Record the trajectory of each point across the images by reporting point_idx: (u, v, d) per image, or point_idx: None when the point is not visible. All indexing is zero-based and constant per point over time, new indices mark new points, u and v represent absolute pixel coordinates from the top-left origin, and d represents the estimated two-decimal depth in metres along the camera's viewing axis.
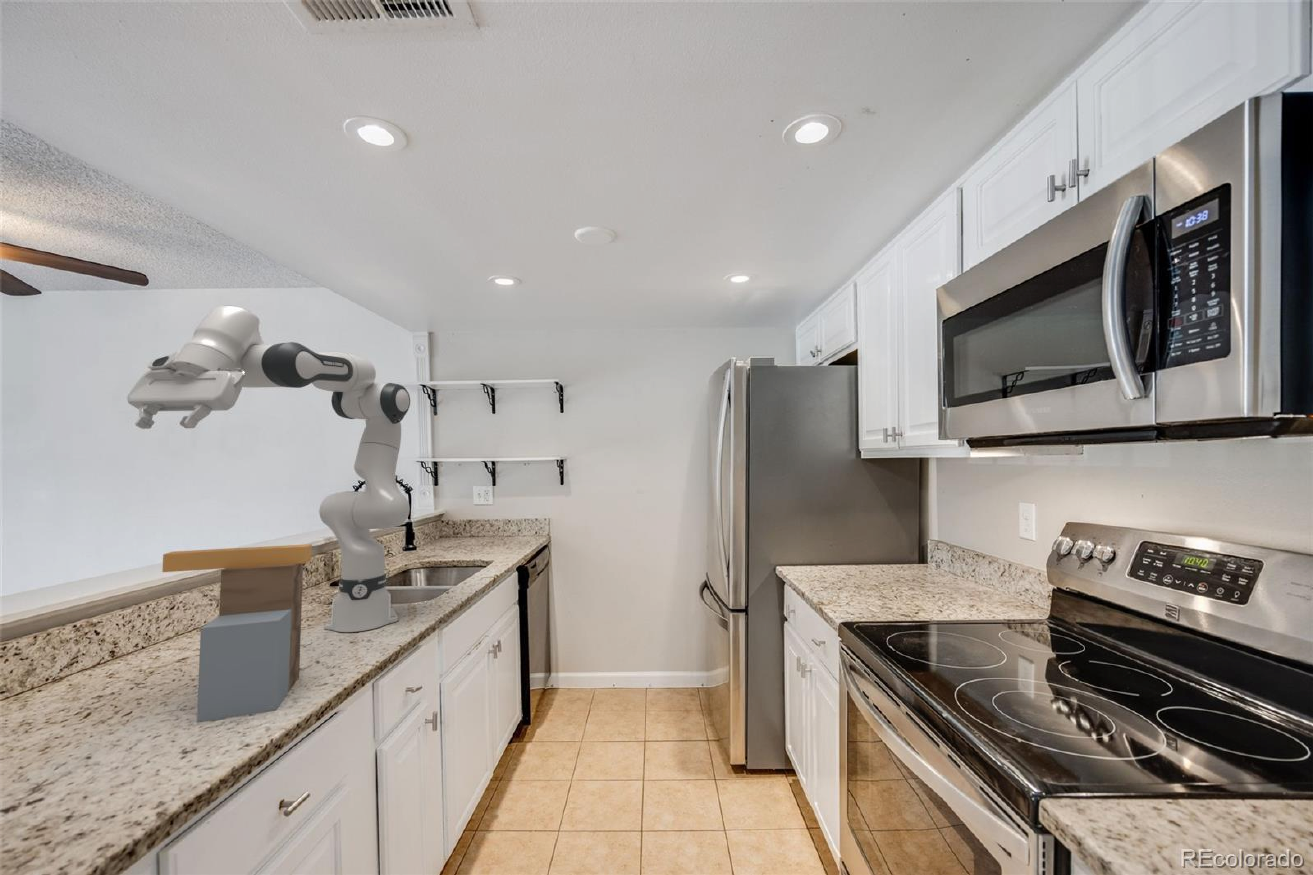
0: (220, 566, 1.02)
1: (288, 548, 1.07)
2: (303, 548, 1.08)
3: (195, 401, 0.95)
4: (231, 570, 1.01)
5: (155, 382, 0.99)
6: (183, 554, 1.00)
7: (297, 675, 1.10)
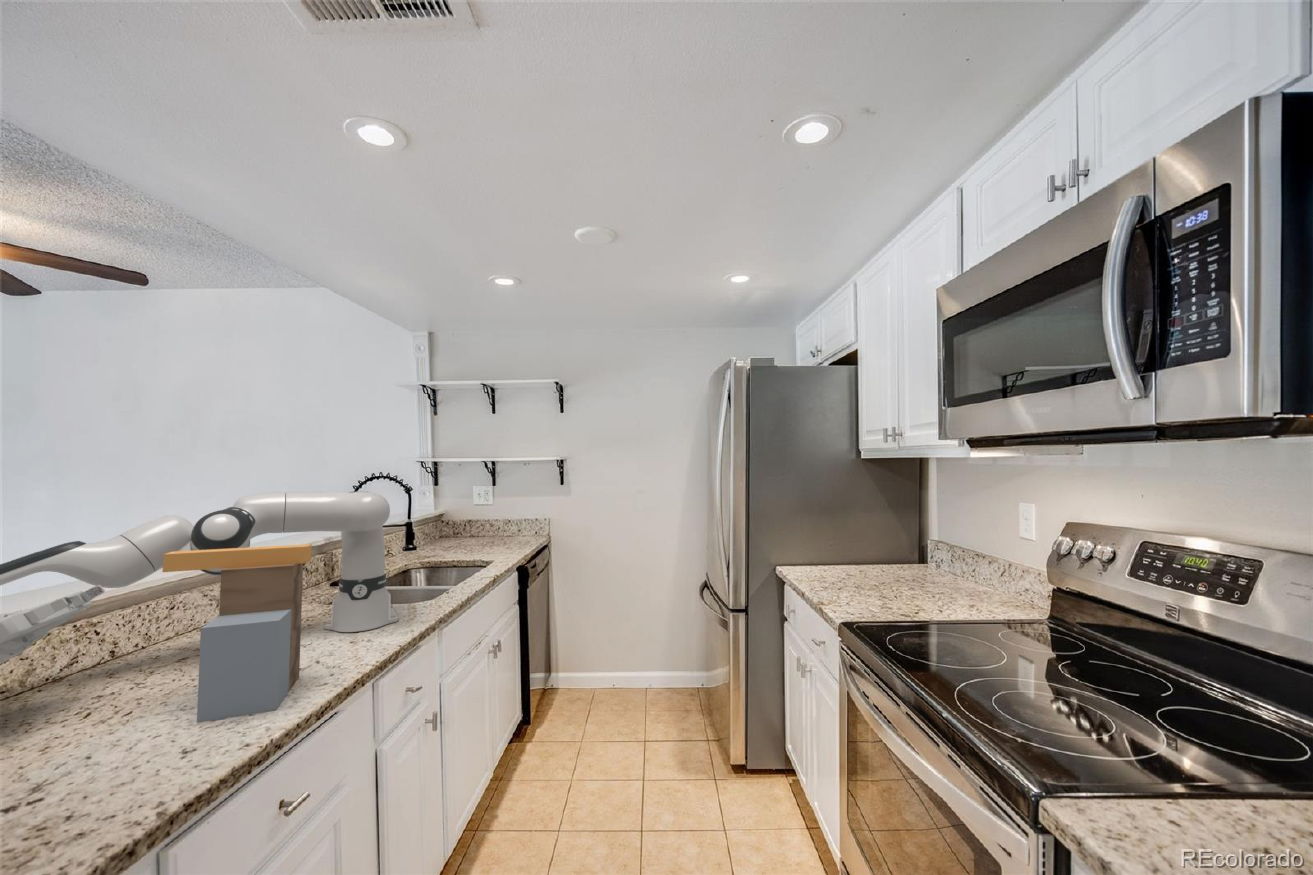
0: (220, 566, 1.02)
1: (288, 548, 1.07)
2: (303, 548, 1.08)
3: (38, 624, 0.89)
4: (231, 570, 1.01)
5: (52, 622, 0.98)
6: (183, 554, 1.00)
7: (297, 675, 1.10)
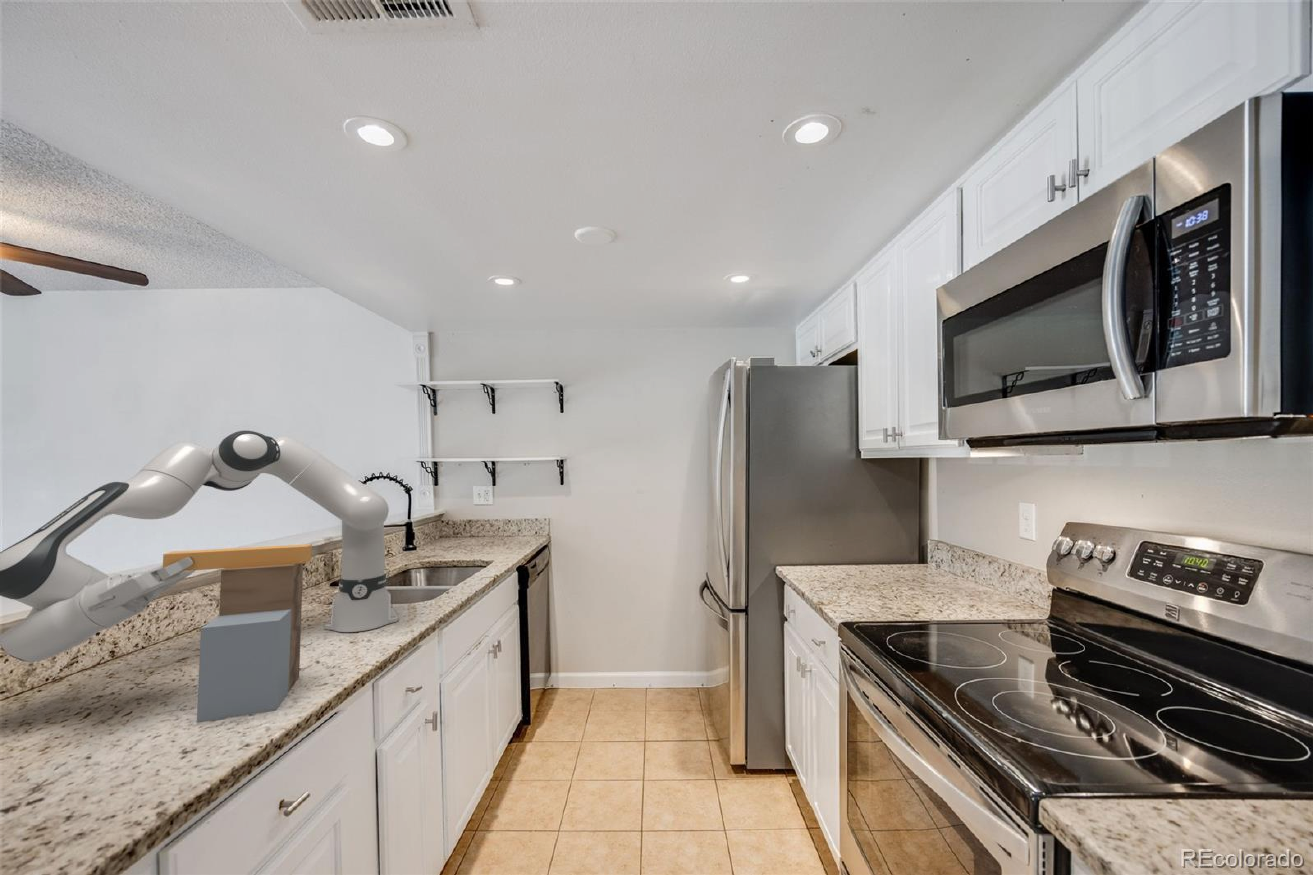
0: (220, 566, 1.02)
1: (288, 548, 1.07)
2: (303, 548, 1.08)
3: (161, 583, 0.96)
4: (231, 570, 1.01)
5: (165, 584, 1.05)
6: (183, 554, 1.00)
7: (297, 675, 1.10)
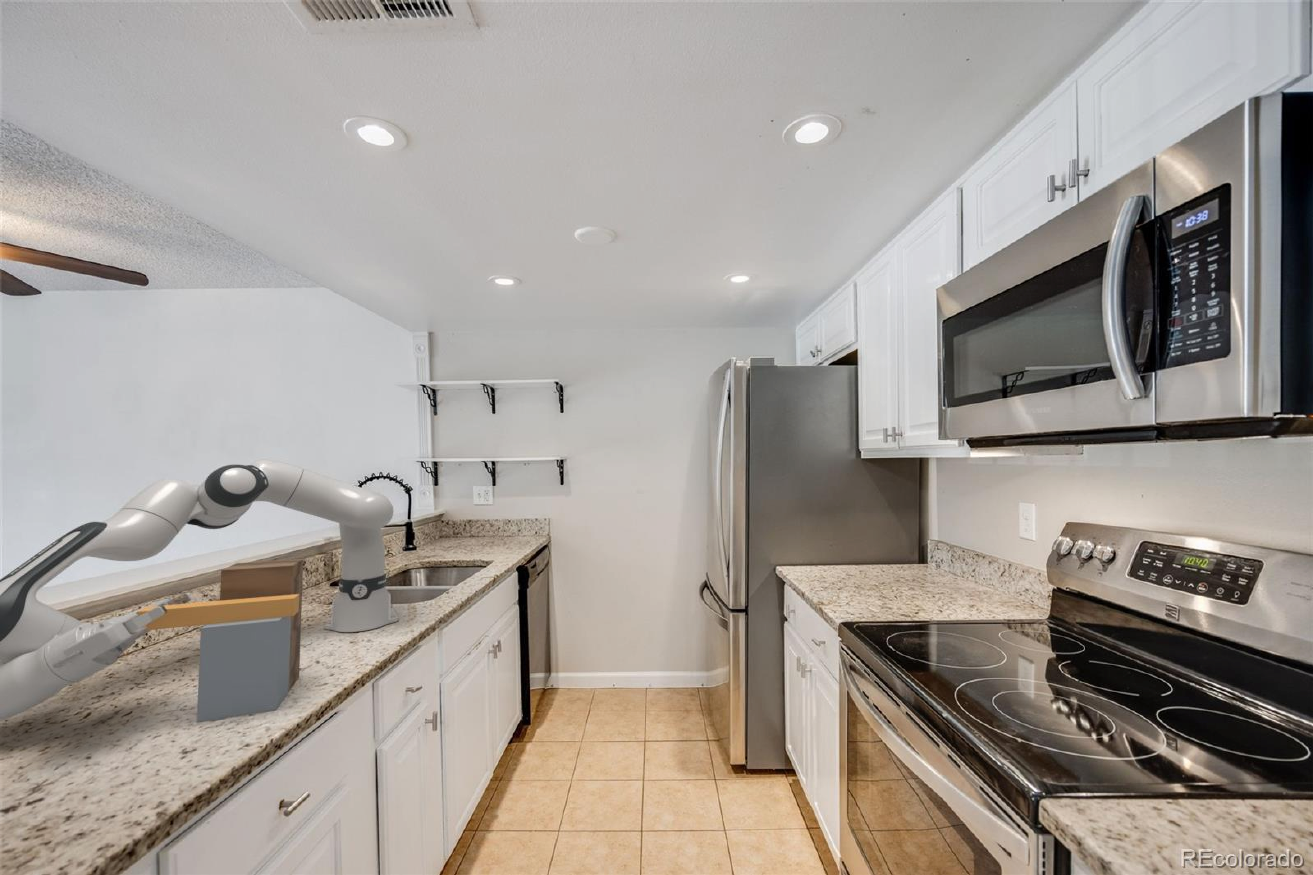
0: (199, 623, 0.95)
1: (273, 601, 0.99)
2: (289, 600, 1.00)
3: (135, 633, 0.88)
4: (231, 570, 1.01)
5: None
6: None
7: (297, 675, 1.10)
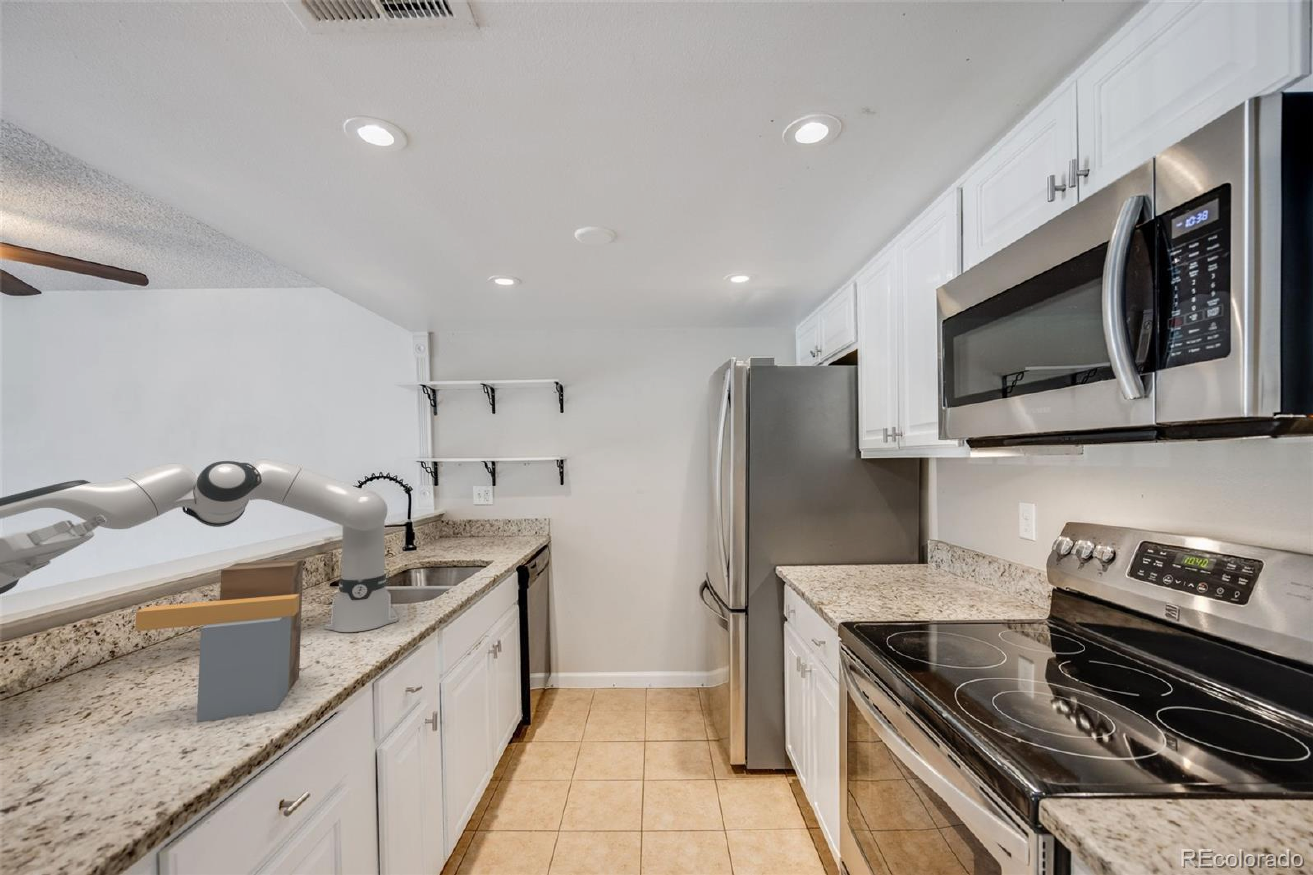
0: (199, 623, 0.95)
1: (273, 601, 0.99)
2: (289, 600, 1.00)
3: (41, 545, 0.90)
4: (231, 570, 1.01)
5: (55, 550, 0.99)
6: (158, 611, 0.92)
7: (297, 675, 1.10)
